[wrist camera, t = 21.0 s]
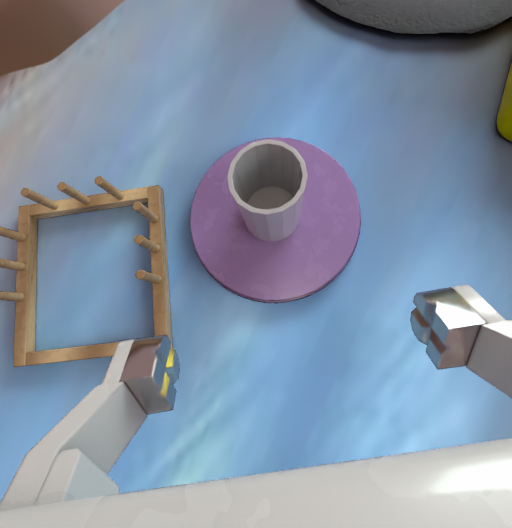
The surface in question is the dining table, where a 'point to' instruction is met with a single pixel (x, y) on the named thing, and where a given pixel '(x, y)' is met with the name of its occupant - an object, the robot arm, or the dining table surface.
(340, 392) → the dining table surface
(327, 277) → the purple disc candle holder
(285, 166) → the steel cup
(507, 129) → the element tile
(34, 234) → the drying rack
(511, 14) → the grey tray with blocks
